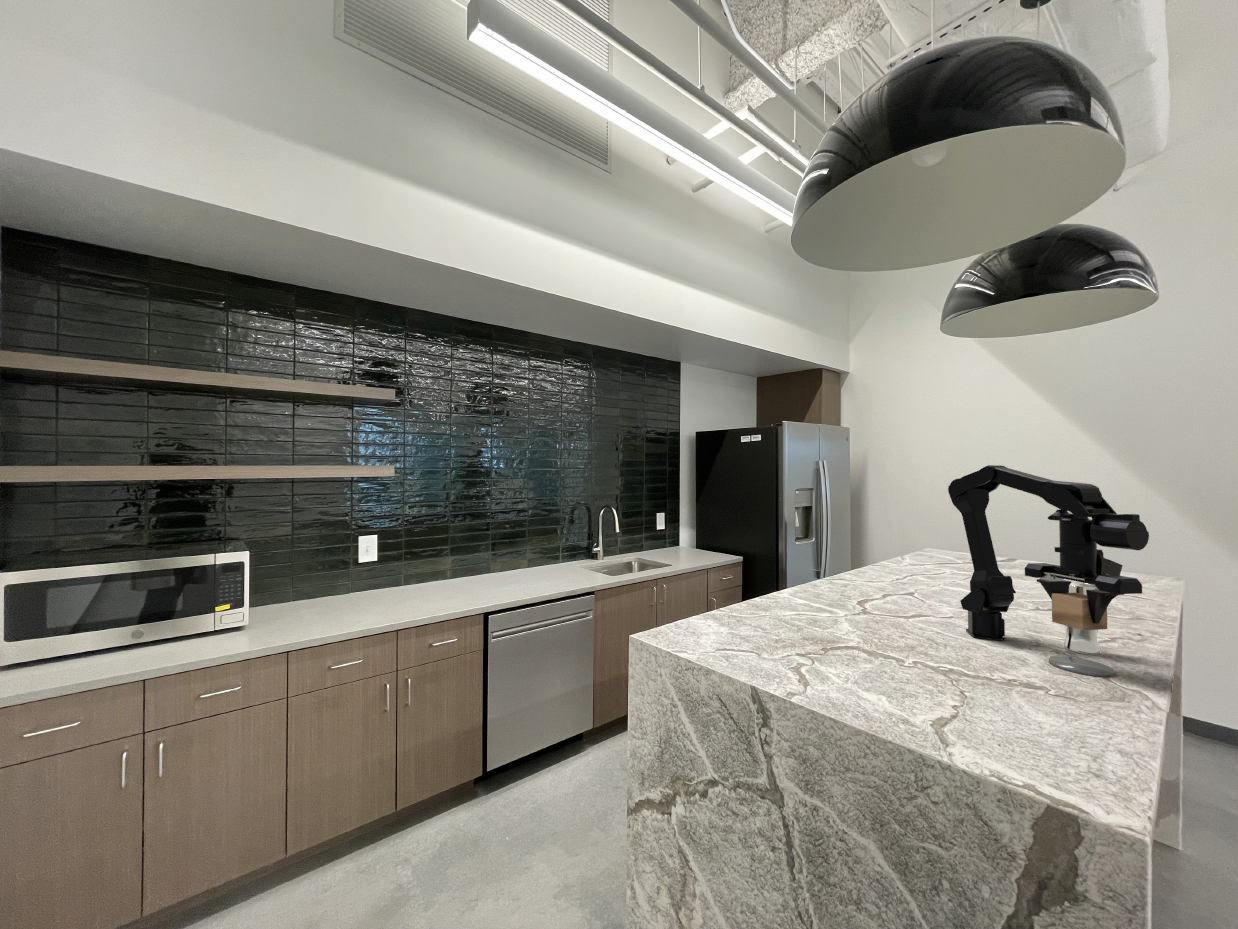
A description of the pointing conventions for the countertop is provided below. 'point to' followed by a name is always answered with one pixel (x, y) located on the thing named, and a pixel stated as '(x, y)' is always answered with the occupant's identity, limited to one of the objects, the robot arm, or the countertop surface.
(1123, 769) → the countertop surface
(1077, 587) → the beer glass
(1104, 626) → the walnut block
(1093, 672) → the slate coaster
